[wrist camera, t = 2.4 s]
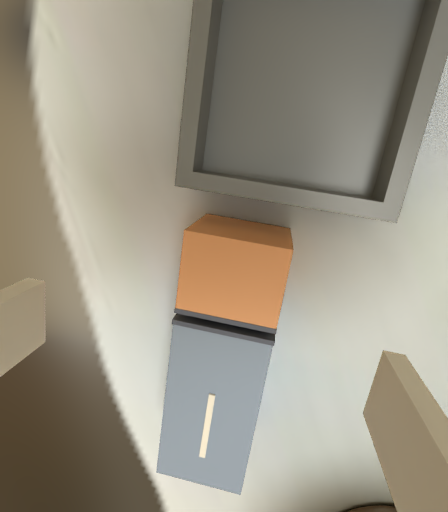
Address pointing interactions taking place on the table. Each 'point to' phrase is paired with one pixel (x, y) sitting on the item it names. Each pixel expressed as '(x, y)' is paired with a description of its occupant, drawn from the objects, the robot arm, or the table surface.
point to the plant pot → (375, 509)
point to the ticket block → (212, 401)
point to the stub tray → (310, 100)
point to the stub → (234, 272)
